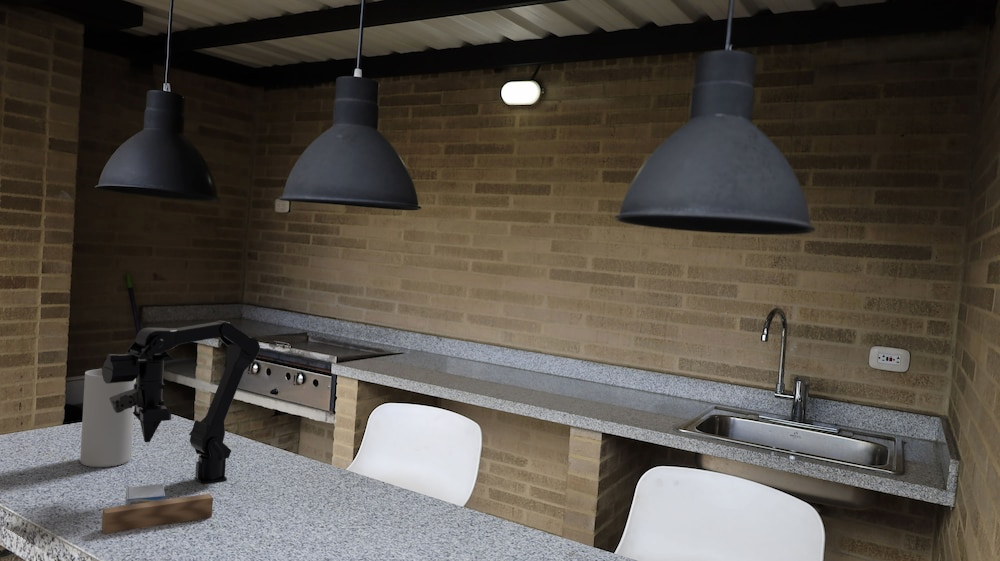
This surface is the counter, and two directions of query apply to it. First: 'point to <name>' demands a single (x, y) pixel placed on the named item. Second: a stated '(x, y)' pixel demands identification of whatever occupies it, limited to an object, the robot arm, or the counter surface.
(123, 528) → the brown wooden block
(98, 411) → the cylinder vase
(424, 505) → the counter surface
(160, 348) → the robot arm
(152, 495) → the medicine box
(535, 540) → the counter surface
